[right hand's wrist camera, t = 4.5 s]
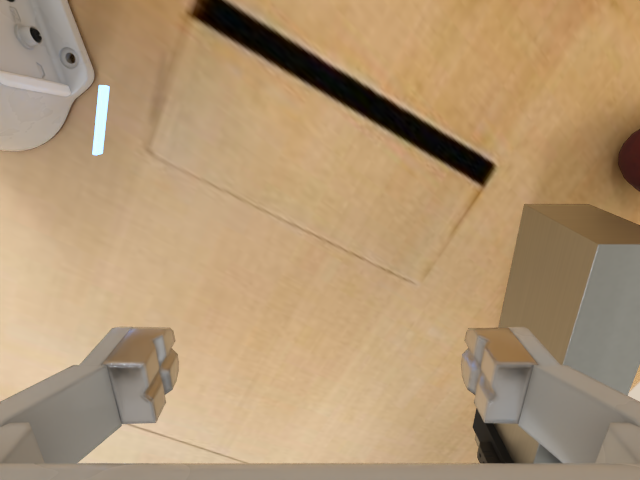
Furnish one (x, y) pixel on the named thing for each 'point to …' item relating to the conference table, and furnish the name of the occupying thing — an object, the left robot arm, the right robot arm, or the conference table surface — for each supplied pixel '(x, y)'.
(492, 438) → the left robot arm
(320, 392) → the conference table surface
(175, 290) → the conference table surface
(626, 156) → the potato
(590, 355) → the bar
